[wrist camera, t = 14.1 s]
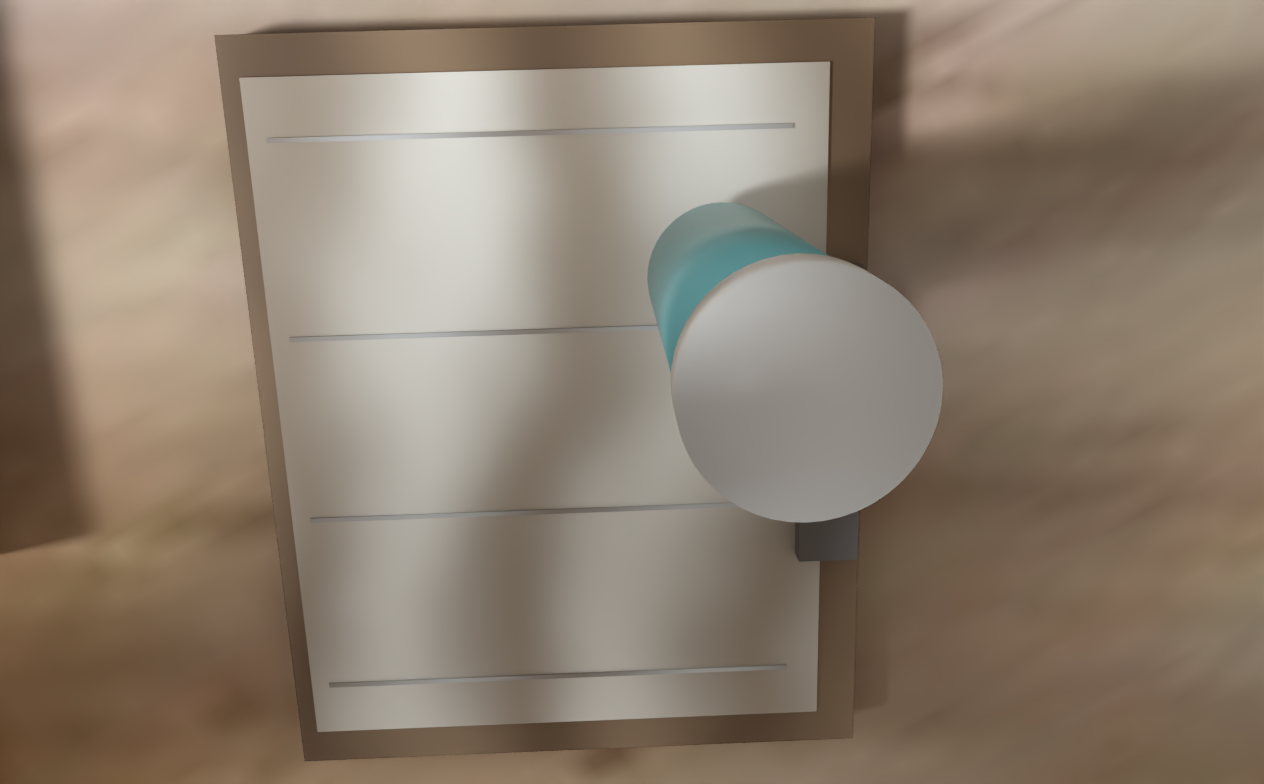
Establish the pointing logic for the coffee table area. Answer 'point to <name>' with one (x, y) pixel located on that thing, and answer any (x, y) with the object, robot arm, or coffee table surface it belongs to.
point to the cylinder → (789, 366)
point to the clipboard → (531, 379)
